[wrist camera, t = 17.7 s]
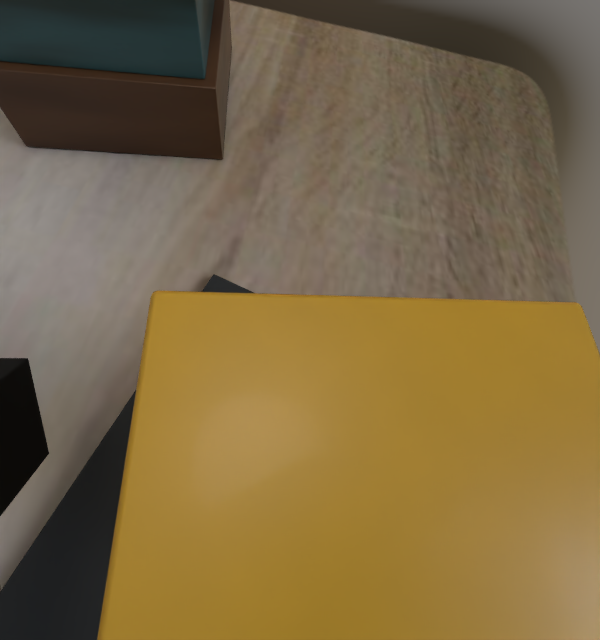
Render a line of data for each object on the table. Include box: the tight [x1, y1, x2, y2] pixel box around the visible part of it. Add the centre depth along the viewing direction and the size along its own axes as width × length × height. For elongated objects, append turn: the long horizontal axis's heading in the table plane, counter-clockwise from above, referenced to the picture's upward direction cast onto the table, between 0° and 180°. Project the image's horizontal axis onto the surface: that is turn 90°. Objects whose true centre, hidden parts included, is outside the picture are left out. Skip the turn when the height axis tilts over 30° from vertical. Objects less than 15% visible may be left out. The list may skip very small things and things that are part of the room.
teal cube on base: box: [0, 0, 232, 159], centre depth 18 cm, size 10×10×8 cm
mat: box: [0, 275, 253, 640], centre depth 14 cm, size 14×14×1 cm
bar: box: [97, 291, 600, 640], centre depth 8 cm, size 4×4×12 cm
